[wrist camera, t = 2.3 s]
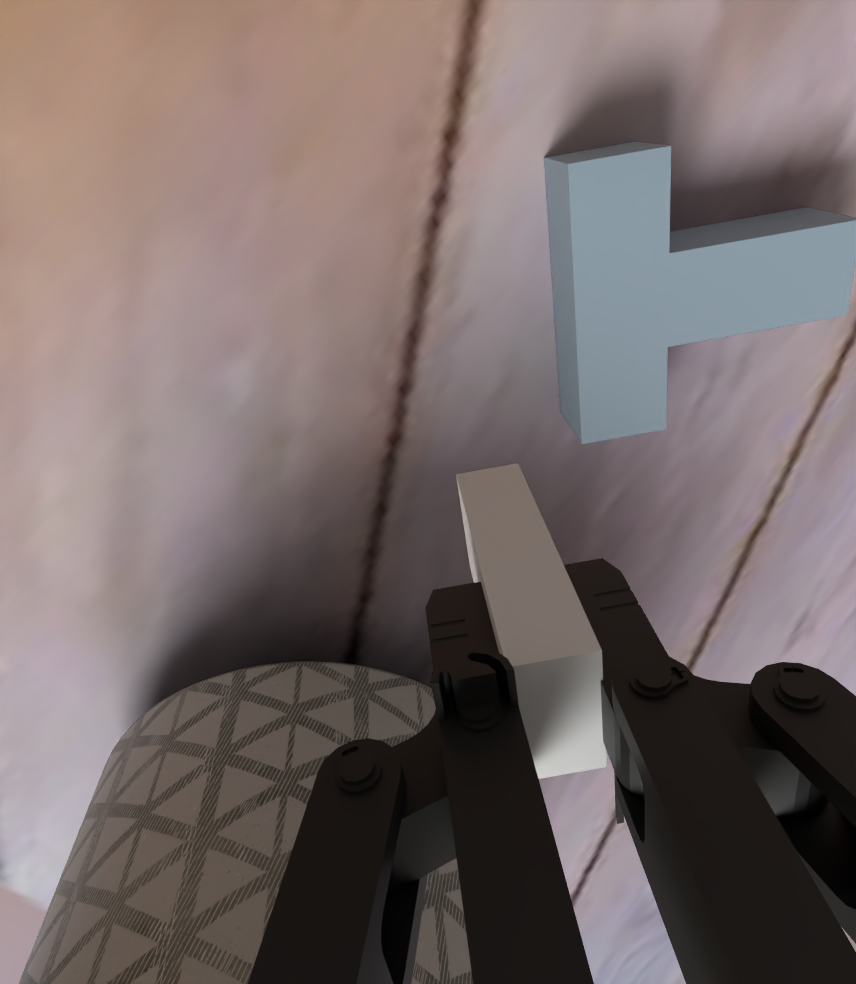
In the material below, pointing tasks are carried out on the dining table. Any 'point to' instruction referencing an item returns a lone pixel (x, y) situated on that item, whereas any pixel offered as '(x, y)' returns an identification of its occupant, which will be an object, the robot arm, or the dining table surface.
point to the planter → (223, 829)
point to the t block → (668, 281)
